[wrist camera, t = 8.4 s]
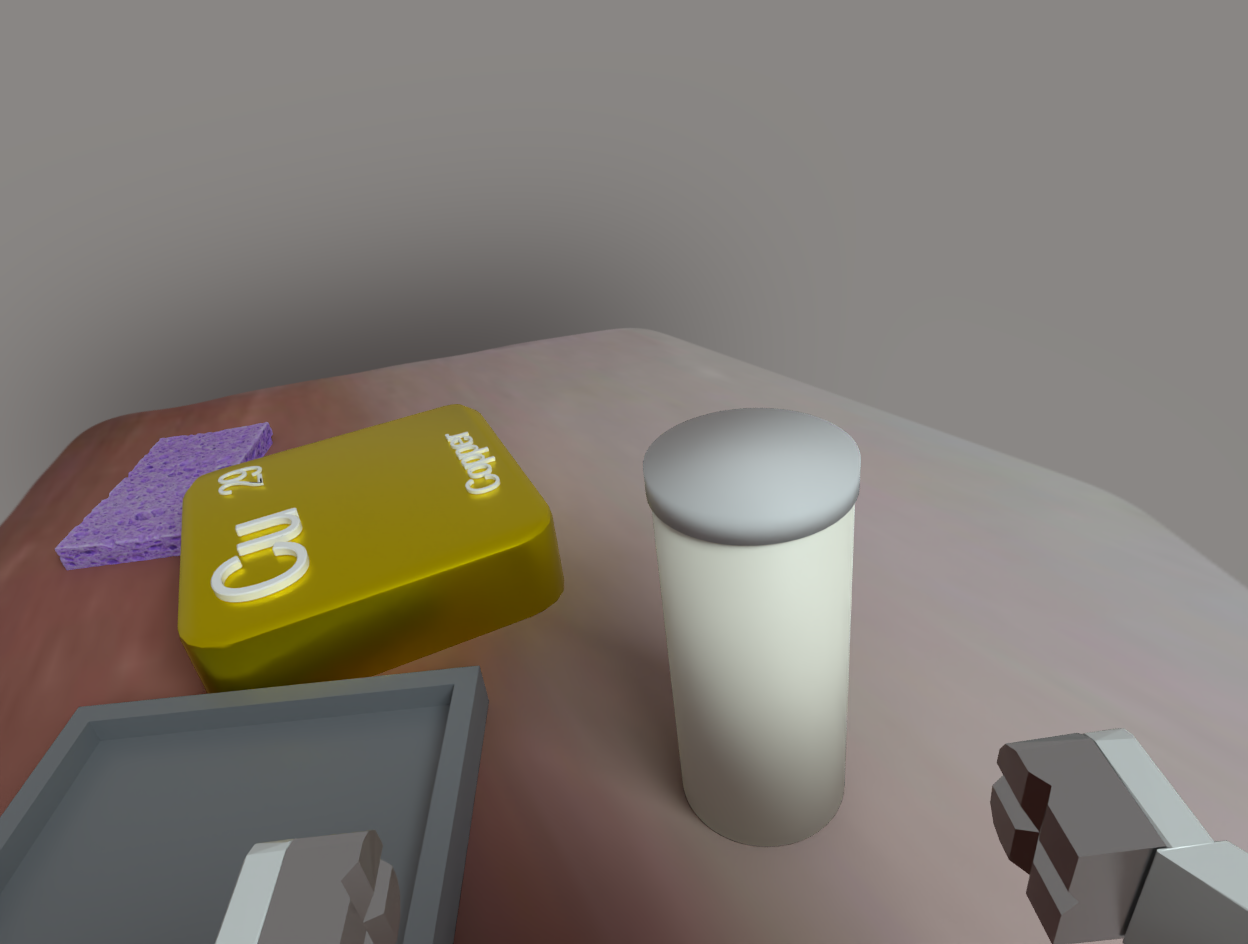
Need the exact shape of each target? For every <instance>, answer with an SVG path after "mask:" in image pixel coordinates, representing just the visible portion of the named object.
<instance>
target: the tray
mask: <svg viewBox="0 0 1248 944" xmlns="http://www.w3.org/2000/svg"><path fill="white" fill-rule="evenodd" d="M488 703H489V699H488V696H487V692H486V688H485V685H484V681H483V677H482V673H481V670H480V666H471V667H461V668H452V669H442V670H433V671H423V672H413V673H404V674H394V675H384V676H375V677H365V678H355V679H346V680H336V681H326V682H317V683H307V684H298V685H288V686H278V687H269V688H259V689H249V690H240V691H230V692H220V693H211V694H201V695H191V696H182V697H172V698H162V699H153V700H143V701H134V702H124V703H114V704H105V705H95V706H85V707H79V708H78V709H77V710H76V712H75V713H74V715H73V716H72V717H71V719H70V720H69V722H68V723H67V725H66V726H65V727H64V729H63V730H62V732H61V733H60V734H59V736H58V737H57V739H56V740H55V741H54V743H53V744H52V746H51V747H50V748H49V750H48V751H47V753H46V754H45V755H44V757H43V758H42V760H41V761H40V762H39V764H38V765H37V767H36V768H35V769H34V771H33V772H32V774H31V775H30V776H29V778H28V779H27V781H26V782H25V783H24V785H23V786H22V788H21V789H20V791H19V792H18V793H17V795H16V796H15V798H14V799H13V800H12V802H11V803H10V805H9V806H8V807H7V809H6V810H5V812H4V813H3V814H2V816H1V817H0V944H215V941H216V938H217V935H218V933H219V930H220V927H221V924H222V921H223V918H224V916H225V913H226V910H227V907H228V904H229V901H230V899H231V896H232V893H233V890H234V887H235V885H236V882H237V879H238V876H239V873H240V870H241V868H242V865H243V862H244V859H245V857H246V856H247V854H248V853H249V852H250V850H251V849H252V847H253V846H254V845H255V844H257V843H265V842H272V841H280V840H287V839H295V838H297V839H298V838H306V837H315V836H324V835H332V834H341V833H350V832H358V831H367V830H376V832H377V834H378V836H379V838H380V840H381V842H382V844H383V848H382V853H381V858H380V859H381V860H383V861H385V862H387V863H388V864H390V865H392V866H393V869H394V871H395V873H396V876H397V879H398V884H399V890H400V923H399V930H398V937H397V942H396V943H395V944H453V941H454V935H455V928H456V921H457V914H458V907H459V901H460V894H461V887H462V880H463V873H464V867H465V860H466V853H467V846H468V839H469V833H470V826H471V819H472V812H473V805H474V799H475V792H476V785H477V778H478V771H479V765H480V758H481V751H482V744H483V737H484V731H485V724H486V717H487V710H488Z"/></svg>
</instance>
